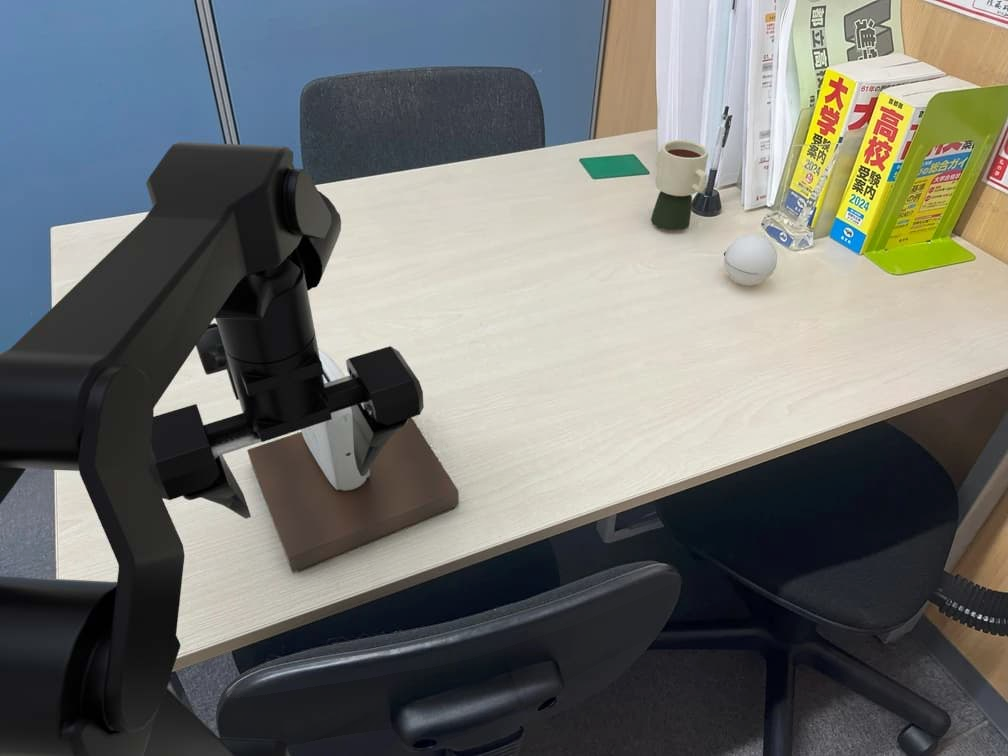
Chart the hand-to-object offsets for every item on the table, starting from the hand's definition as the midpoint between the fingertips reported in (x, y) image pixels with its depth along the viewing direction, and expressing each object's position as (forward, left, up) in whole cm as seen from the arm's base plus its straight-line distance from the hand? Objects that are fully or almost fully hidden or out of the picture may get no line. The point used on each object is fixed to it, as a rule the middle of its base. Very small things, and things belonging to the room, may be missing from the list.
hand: (306, 492), depth 56 cm
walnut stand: (+6, +10, -13) cm, 17 cm away
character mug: (+71, +39, -13) cm, 82 cm away
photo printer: (+5, +12, -11) cm, 17 cm away
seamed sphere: (+69, +21, -13) cm, 73 cm away
